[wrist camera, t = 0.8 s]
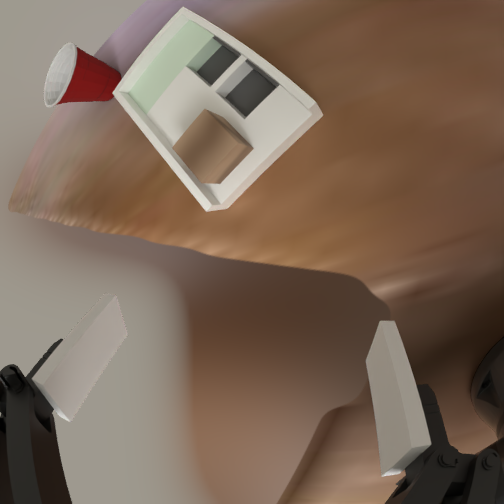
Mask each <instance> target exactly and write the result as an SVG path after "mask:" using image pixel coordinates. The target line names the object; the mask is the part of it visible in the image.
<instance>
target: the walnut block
mask: <svg viewBox="0 0 504 504" xmlns="http://www.w3.org/2000/svg"><path fill="white" fill-rule="evenodd" d="M172 149H173V150H174V151H175V152H176V153H177V155H178V156H179V157H180V158H181V159H182V161H183V162H184V163H185V164H186V165H187V167H188V168H189V169H190V170H191V171H192V173H193V174H194V175H195V176H196V177H197V179H198V180H199V181H200V182H201V183H208V184H221V183H222V182H223V180H224V179H225V178H226V177H227V176H228V175H229V174H230V173H231V172H232V171H233V170H234V169H235V168H236V167H237V166H238V165H239V164H240V163H241V161H242V160H243V159H244V158H245V157H246V156H247V155H248V154H249V153H250V152H251V151H252V150H253V149H254V148H253V147H252V146H251V145H250V144H249V143H248V142H247V141H246V140H245V139H244V138H243V137H242V136H241V135H240V134H239V133H238V132H237V131H236V129H235V128H234V127H233V126H232V125H231V124H230V123H229V122H228V121H227V120H226V119H225V118H224V117H222V116H220V115H218V114H216V113H213V112H211V111H209V110H207V109H204V110H203V111H202V112H201V113H200V115H199V116H198V117H197V118H196V119H195V120H194V121H193V123H192V124H191V125H190V126H189V127H188V129H187V130H186V131H185V132H184V133H183V135H182V136H181V137H180V138H179V140H178V141H177V142H176V143H175V145H174V146H173V147H172Z"/></svg>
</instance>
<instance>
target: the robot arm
mask: <svg viewBox="0 0 504 504" xmlns="http://www.w3.org/2000/svg"><path fill="white" fill-rule="evenodd" d="M127 335H128V332H127V329H126V326H125V323H124V319H123V316H122V313H121V309H120V306H119V303H118V299H117V295H113V294H108V293H105V294H104V295H103V296H102V297H101V298H100V299H99V300H98V301H97V303H96V304H95V305H94V306H93V307H92V308H91V309H90V310H89V311H88V312H87V313H86V314H85V316H84V317H83V318H82V319H81V320H80V321H79V322H78V323H77V325H76V326H75V327H74V328H73V329H72V330H71V331H70V333H69V334H68V335H67V336H66V338H64V340H63V339H60V340H58V341H57V342H55V343H54V344H53V345H52V346H51V347H50V348H49V349H48V351H47V353H45V354H44V355H43V358H41V359H40V360H39V361H38V363H37V364H36V365H35V366H34V368H33V369H32V370H31V371H30V373H29V374H28V375H27V376H26V377H24V375H23V374H22V372H21V370H20V369H19V368H18V366H16V365H14V364H12V365H8V366H6V367H4V368H3V369H2V370H1V371H0V412H1V416H0V504H72V501H71V498H70V494H69V491H68V487H67V484H66V480H65V476H64V471H63V467H62V463H61V458H60V453H59V447H58V442H57V436H56V429H55V422H54V417H53V414H52V412H53V410H55V411H56V413H57V414H58V415H59V416H60V417H62V418H64V419H66V420H68V421H70V422H72V420H73V418H74V416H75V415H76V413H77V412H78V410H79V409H80V407H81V405H82V404H83V402H84V400H85V399H86V397H87V396H88V394H89V392H90V391H91V389H92V388H93V386H94V385H95V383H96V381H97V380H98V379H99V377H100V375H101V374H102V372H103V371H104V369H105V368H106V366H107V365H108V363H109V362H110V360H111V359H112V357H113V356H114V354H115V353H116V351H117V350H118V348H119V347H120V345H121V344H122V343H123V341H124V340H125V338H126V337H127ZM366 366H367V371H368V377H369V383H370V388H371V394H372V401H373V407H374V414H375V421H376V429H377V437H378V445H379V455H380V465H381V477H382V476H389V475H396V474H400V473H401V472H402V471H403V470H404V469H405V472H406V476H405V477H403V478H402V479H401V480H400V481H399V482H398V483H396V485H398V487H397V488H396V489H395V491H394V492H393V493H392V495H391V496H390V497H389V499H388V500H387V501H386V502H385V504H504V338H502V339H501V340H500V341H499V342H498V343H497V344H496V345H495V346H494V347H493V348H492V349H491V350H490V352H489V353H488V354H487V355H486V357H485V358H484V360H483V361H482V363H481V364H480V366H479V368H478V370H477V372H476V374H475V376H474V379H473V382H472V387H471V399H472V403H473V405H474V408H475V411H476V413H477V414H478V416H479V417H480V418H481V419H482V420H483V421H484V422H485V423H486V424H487V425H488V426H489V427H490V428H491V429H492V430H493V431H494V432H495V433H496V435H497V437H498V441H496V442H495V443H493V444H491V445H490V446H488V447H487V448H485V449H483V450H482V451H480V452H478V453H476V454H475V455H474V454H462V453H459V452H458V450H457V449H456V448H454V447H453V446H450V444H449V442H448V438H447V435H446V431H445V427H444V423H443V420H442V416H441V413H440V410H439V406H438V405H437V400H436V397H435V394H434V392H433V391H432V389H431V388H430V387H429V386H428V384H423V385H416V383H415V380H414V376H413V373H412V370H411V367H410V364H409V361H408V358H407V355H406V352H405V349H404V346H403V343H402V340H401V337H400V335H399V332H398V329H397V326H396V324H395V321H380V322H379V325H378V328H377V331H376V334H375V337H374V340H373V342H372V345H371V348H370V351H369V354H368V356H367V359H366Z"/></svg>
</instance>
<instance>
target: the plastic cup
mask: <svg viewBox="0 0 504 504" xmlns="http://www.w3.org/2000/svg"><path fill="white" fill-rule="evenodd" d="M120 81H121V75H120V73H119V72H118V71H116V70H115V69H113V68H111V67H110V66H108V65H107V64H106V63H104V62H102V61H100V60H98V59H97V58H95V57H93V56H91V55H89V54H87V53H85V52H84V51H83V50H81V49H79V48H78V47H76V45H75V44H73V43H72V42H69V43H66V44H65V45H64V46H63V47H62V48H61V49H60V50H59V51H58V53H57V55H56V56H55V58H54V59H53V62H52V64H51V66H50V68H49V70H48V74H47V77H46V81H45V86H44V103H45V105H46V107H54V106H55V105H58V104H62V103H67V102H93V101H108V100H110V99H112V98H113V97H114V95H113V94H112V93H113V91H114V90H115V88H116V87H117V85H118V84H119V82H120Z"/></svg>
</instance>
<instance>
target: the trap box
mask: <svg viewBox="0 0 504 504" xmlns="http://www.w3.org/2000/svg"><path fill="white" fill-rule="evenodd" d="M112 94H113V95H114V96H115V97H116V99H117V100H118V101H119V103H120V104H121V105H122V106H123V108H124V109H125V110H126V111H127V113H128V114H129V115H130V117H131V118H132V119H133V120H134V122H135V123H136V124H137V125H138V127H139V128H140V129H141V130H142V132H143V133H144V134H145V136H146V137H147V138H148V139H149V141H150V142H151V143H152V144H153V146H154V147H155V148H156V149H157V151H158V152H159V153H160V154H161V156H162V157H163V158H164V159H165V161H166V162H167V163H168V164H169V166H170V167H171V168H172V169H173V171H174V172H175V173H176V174H177V176H178V177H179V178H180V179H181V181H182V182H183V183H184V184H185V186H186V187H187V188H188V189H189V191H190V192H191V193H192V194H193V196H194V197H195V198H196V199H197V201H198V202H199V203H200V204H201V205H202V207H203V208H204V209H205V210H206V212H207V211H215V210H222V209H228V208H229V207H230V206H231V205H232V204H233V203H234V202H235V201H236V199H237V198H238V197H239V196H240V195H241V194H242V193H243V192H244V191H245V190H246V189H247V188H248V187H249V186H250V185H251V184H252V183H253V182H254V181H255V180H256V179H257V178H258V177H259V176H260V175H261V174H262V173H263V172H264V171H265V170H267V169H268V168H269V167H270V166H271V165H272V164H273V163H274V162H275V161H276V160H277V159H278V158H279V157H280V156H281V155H282V154H283V153H284V152H285V151H286V150H287V149H288V148H289V147H290V146H291V145H292V144H293V143H295V142H296V141H297V140H298V139H299V138H300V137H301V136H302V135H303V134H304V133H305V132H306V131H307V130H308V129H309V128H311V127H312V126H313V125H314V124H315V123H316V122H317V121H318V120H319V119H320V118H321V117H322V116H324V115H323V114H322V112H321V110H320V108H319V106H318V105H317V103H316V102H315V101H314V100H313V99H312V98H311V97H310V96H309V95H308V94H306V93H305V92H304V91H303V90H302V89H301V88H299V87H298V86H297V85H296V84H295V83H294V82H292V81H291V80H290V79H289V78H288V77H286V76H285V75H284V74H283V73H281V72H280V71H279V70H278V69H276V68H275V67H274V66H273V65H271V64H270V63H269V62H267V61H266V60H265V59H263V58H262V57H261V56H259V55H258V54H257V53H255V52H254V51H253V50H251V49H250V48H248V47H247V46H246V45H244V44H243V43H241V42H240V41H238V40H237V39H235V38H234V37H232V36H231V35H229V34H228V33H226V32H225V31H223V30H222V29H220V28H219V27H217V26H215V25H214V24H212V23H210V22H209V21H207V20H206V19H204V18H202V17H200V16H199V15H197V14H195V13H194V12H192V11H190V10H188V9H186V8H185V7H182V8H181V9H180V10H179V11H178V12H177V13H176V14H175V15H174V16H173V17H172V18H171V19H170V20H169V22H168V23H167V24H166V25H165V26H164V27H163V28H162V29H161V30H160V31H159V33H158V34H157V35H156V36H155V37H154V38H153V40H152V41H151V42H150V43H149V44H148V46H147V47H146V48H145V49H144V50H143V52H142V53H141V54H140V55H139V57H138V58H137V59H136V61H135V62H134V63H133V65H132V66H131V67H130V69H129V70H128V71H127V73H126V74H125V75H124V77H123V78H122V80H121V81H120V82H119V84H118V85H117V87H116V88H115V90H114V91H113V93H112ZM204 109H207V110H209V111H211V112H213V113H216V114H218V115H220V116H222V117H224V118H225V119H226V120H227V121H228V122H229V123H230V124H231V125H232V126H233V127H234V128H235V129H236V131H237V132H238V133H239V134H240V135H241V136H242V137H243V138H244V139H245V140H246V141H247V142H248V143H249V144H250V145H251V146H252V147H253V148H254V149H253V150H252V151H251V152H250V153H249V154H248V155H247V156H246V157H245V158H244V159H243V160H242V161H241V163H240V164H239V165H238V166H237V167H236V168H235V169H234V170H233V171H232V172H231V173H230V174H229V175H228V176H227V177H226V178H225V179H224V180H223V182H222V183H221V184H208V183H201V182H200V181H199V180H198V179H197V177H196V176H195V175H194V174H193V173H192V171H191V170H190V169H189V168H188V167H187V165H186V164H185V163H184V162H183V161H182V159H181V158H180V157H179V156H178V155H177V153H176V152H175V151H174V150H173V149H172V147H173V146H174V145H175V143H176V142H177V141H178V140H179V138H180V137H181V136H182V135H183V133H184V132H185V131H186V130H187V129H188V127H189V126H190V125H191V124H192V123H193V121H194V120H195V119H196V118H197V117H198V116H199V115H200V113H201V112H202V111H203V110H204Z"/></svg>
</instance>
